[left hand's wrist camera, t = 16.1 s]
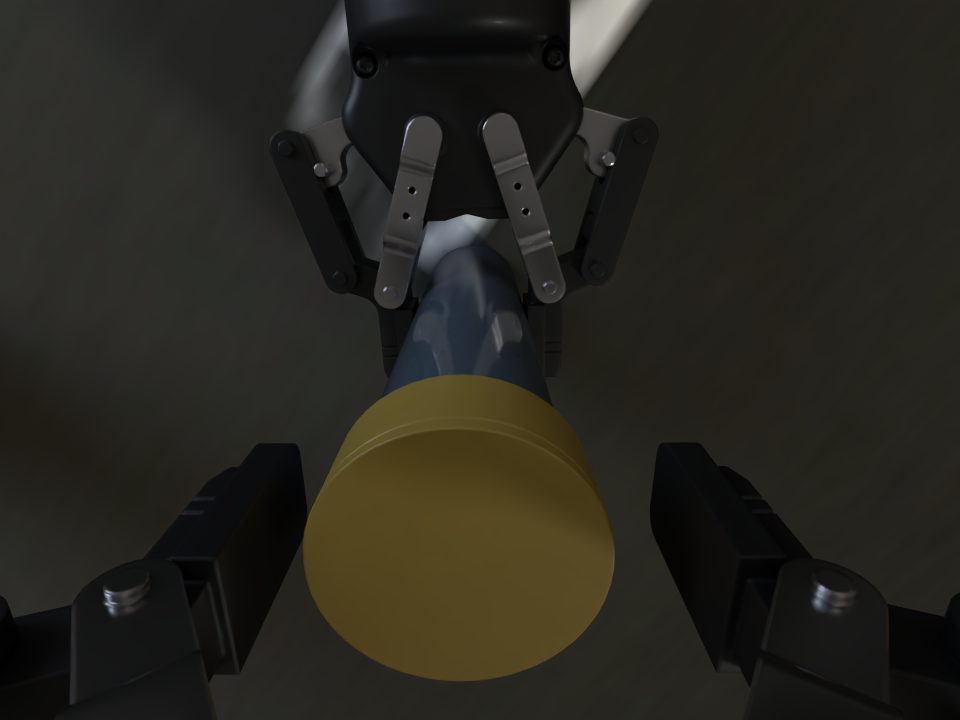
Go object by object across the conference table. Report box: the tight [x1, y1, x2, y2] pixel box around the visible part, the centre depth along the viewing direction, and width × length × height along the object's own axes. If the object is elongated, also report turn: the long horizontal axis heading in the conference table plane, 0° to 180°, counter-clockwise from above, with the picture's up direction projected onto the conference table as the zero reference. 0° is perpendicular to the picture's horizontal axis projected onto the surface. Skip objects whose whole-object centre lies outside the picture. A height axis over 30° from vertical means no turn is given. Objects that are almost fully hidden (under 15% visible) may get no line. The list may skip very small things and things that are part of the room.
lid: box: [302, 375, 615, 681], centre depth 10 cm, size 5×5×2 cm
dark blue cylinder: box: [381, 246, 553, 407], centre depth 19 cm, size 4×4×20 cm
